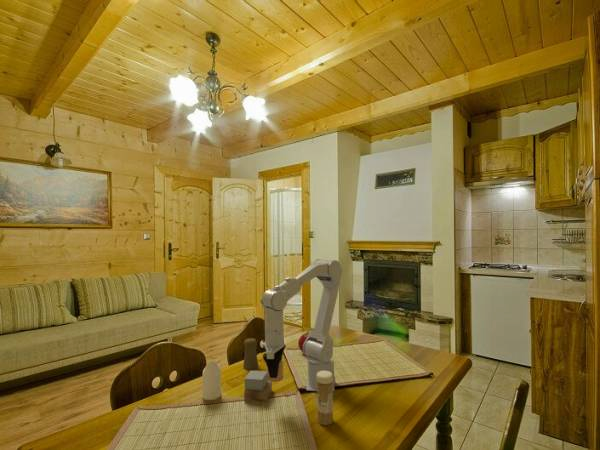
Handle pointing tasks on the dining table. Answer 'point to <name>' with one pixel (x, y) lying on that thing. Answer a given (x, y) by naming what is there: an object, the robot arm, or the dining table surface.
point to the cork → (250, 354)
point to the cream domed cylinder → (211, 381)
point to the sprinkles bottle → (325, 397)
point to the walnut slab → (258, 394)
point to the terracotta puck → (280, 373)
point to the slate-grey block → (256, 380)
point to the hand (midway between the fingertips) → (275, 373)
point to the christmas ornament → (302, 340)
